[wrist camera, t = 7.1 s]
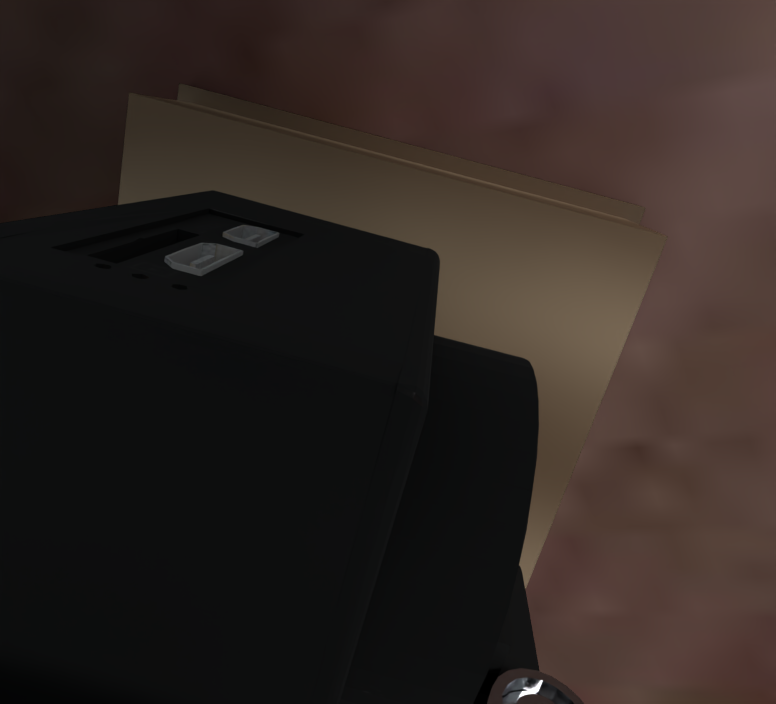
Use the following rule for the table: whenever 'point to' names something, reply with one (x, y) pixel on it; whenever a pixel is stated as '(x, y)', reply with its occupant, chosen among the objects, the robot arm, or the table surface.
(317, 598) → the digital camera
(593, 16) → the table surface
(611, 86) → the table surface
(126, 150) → the plinth
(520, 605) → the robot arm
